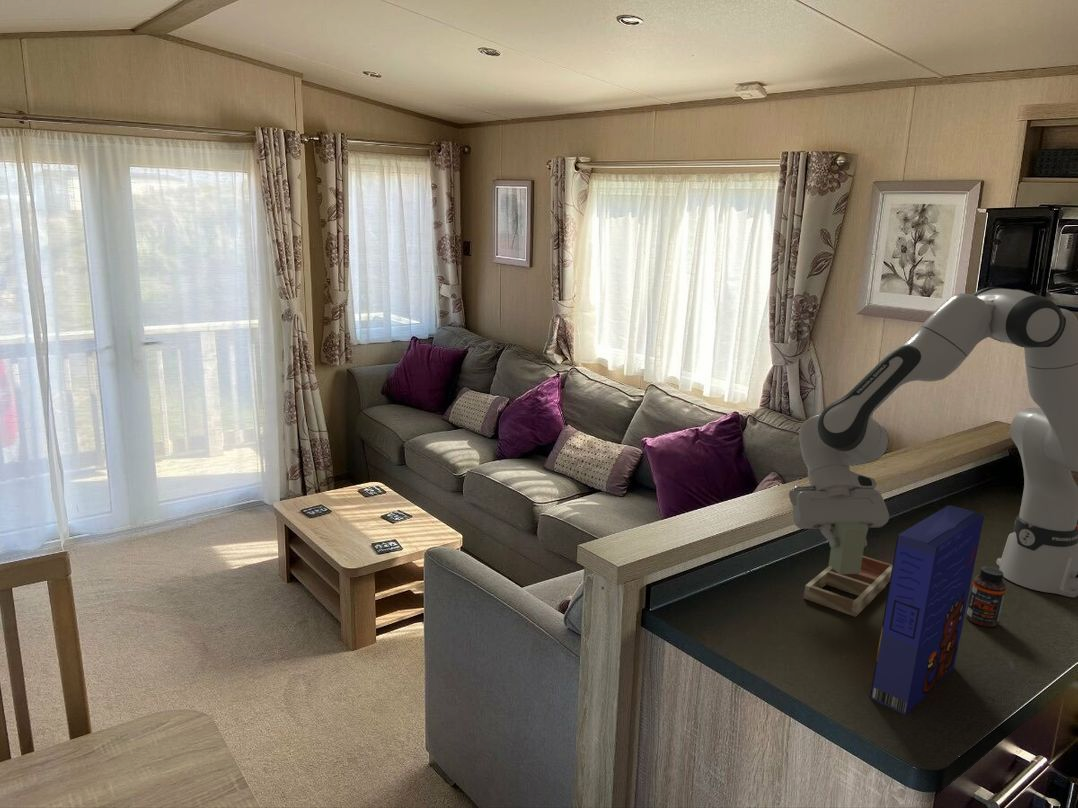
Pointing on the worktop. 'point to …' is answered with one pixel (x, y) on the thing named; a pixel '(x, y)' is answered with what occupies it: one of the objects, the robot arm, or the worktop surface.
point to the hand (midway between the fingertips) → (849, 546)
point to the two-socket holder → (850, 586)
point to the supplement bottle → (986, 597)
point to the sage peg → (848, 547)
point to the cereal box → (925, 606)
